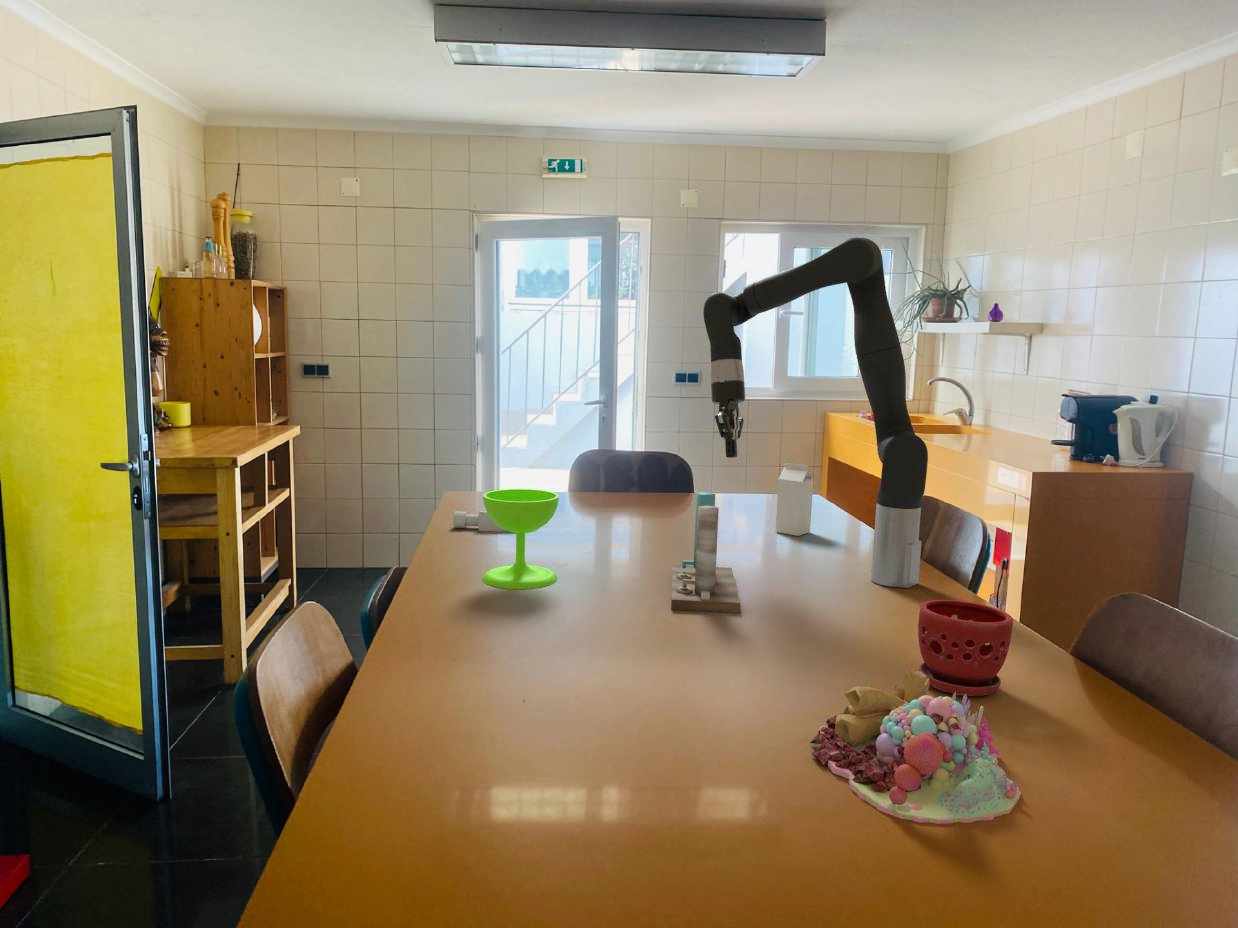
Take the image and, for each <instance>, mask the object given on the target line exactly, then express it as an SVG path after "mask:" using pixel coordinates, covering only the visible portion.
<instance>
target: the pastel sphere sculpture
mask: <svg viewBox="0 0 1238 928" xmlns="http://www.w3.org/2000/svg"><path fill="white" fill-rule="evenodd" d="M903 680H904V681H903V687H902V686H900V685H898V684H897V685H895V688H894V692H893V694H891V693H889V692H888V691H885V690H880V689H878V688H877V689H876V688H874V687H871V686H858V685H857V686H855V687H853V688H851V689H849V690H847V691H846V692H844V696H845V698H846V699H847V701H848V702H849V704H850V705H847V706H846V708H845V709H844V711H843V712H842V713H840V714H838V715H835V716H833V717H829V718H827V720H826V721H825V723H826V724H827V725H824V726H823V725H821V726H819V729H818V733H817V734H816V735H815V736H814V737H813V739H812V740H811V741H810V742H809V744H815V745H816V744H817V745H819V747H817V748H816V749H814V751H812V753H811V756H813V757H814V758H815V759H816V760H817V761H818V762H820V763H821V764H822V765H823V766H825V765H827V766H828V769H829V770H830V771H831V772H832V773H833V774H834V775H837V776H840V777H843V778H845V779H847V780H848V784H849V790H850V791H852V792H854V793H855V794H856V796H858V798H859V799H861V800H864V801H866V802H867V803H868V804H869V805H871V806H873V807H875V808H876V809H877V810H878V811H880V812H882V813H885V814H888V815H891V816H892V817H895V818H897V819H898V818H899V819H901V820H910V821H913V822H915V823H916V822H917V823H922V824H923V823H931V824H932V823H933V824H937V825H940V824H944V825H945V824H946V825H947V824H954V823H963V824H965V823H966V824H967V823H973V822H977V821H978V822H979V821H992V820H994V819H995V817H1001V816H1002V815H1008V814H1010V813H1011V812H1012V811H1013V809H1014V808H1015V806H1016V804H1017V803H1018V801H1019V799H1021V794H1022V793H1021V791H1020V790H1019V786H1018V780H1015V779H1014V780H1012V779H1010V778H1008V777H1007V774H1006V772H1005V770H1004V769H1003V768H1002V767H1000V766H999V765H998V763H999V760H998V757H999V754H1000V751H999V749H998V748H997V747H996V746H993V744H992V741H993V740H994V736H993V734H991V733H990V732H989V723H988V721H987V720H986V717H985V716H984V715H983V713H984V709H985V708H984V706H983V705H980V707H979V711H978V710H976V711H975V712H974V713H973V714H972V715H971V710H970V707H971V700H970V698H968V696H966V694H965V695H964V696H963V697H962V701H961V703H960V702H959V701H957V700H956V699H957V696H956V691H955V693H954V694H952V696H951V697H950V696H942V695H941V696H938V697H935V698H934V696H932V695H928V694H927V693H928V690H929V689H930V686H931V685H930V683H929V679H927V676H926V675H924V674H923V673H922V672H921V671H919V670H915V671H914V670H910V671H908V672H907V673H906V674H905V677H904V679H903ZM967 714H968V715H967ZM982 720H983V724H981V722H982Z"/></svg>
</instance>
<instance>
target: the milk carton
mask: <svg viewBox="0 0 1238 928" xmlns="http://www.w3.org/2000/svg"><path fill="white" fill-rule="evenodd" d="M809 469H810V466H809V465H807V464H806V465H804V464H796V463H788V462H785V463H784V467H783V469H782V471H781V473H780V474H779V476H778V479H777V480H778V481H777V494H776V495H777V497H776V498H777V499H776V515H775V533H777V534H778V533H779V534H785V535H789V536H797V537H800V536H803V535H805V534H808V533H811V525H812V524H811V523H812V521H811V519H812V509H813V508H812V507H813V493H814V490H813V489H814V488H813V487H814V478H813V476H812V474H811V471H810V470H809Z"/></svg>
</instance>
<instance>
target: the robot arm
mask: <svg viewBox="0 0 1238 928" xmlns="http://www.w3.org/2000/svg"><path fill="white" fill-rule="evenodd" d="M885 280H886V279H885V271H884V262H883V255H882V251H881V249H880V247H879V246H878V244H877V243H875V242H874V241H873V240H872V239H869V238H866V237H850V238H847V239H845V240H843V241H842V242H840V243H839V244H837V245H836V246H834V247H832V248H831V249H829V250H828V251H826V252H823V253H822V254H820V255H819V256H817V257H814V258H813V259H810V260H809V261H807V262H804V263H802V264H800V265H797V266H794V267H792V268H788V269H786V270H783V271H780V272H777V273H774V274H772V275H769V276H766V277H764V278H761V279H759V280H756V281H754V282H750V283H749V284H747V285H746V286H745V287H744V288H743V291H742V292H740V293H739V294H736V295H733V296H731V295H729V294H726V293H724V292H719V291H717V292H713V293H711V294H710V295H709V296H708V297H707V298H706V299H705V302H704V304H703V313H702V314H703V321H704V326H705V330H706V334H707V338H708V341H709V344H710V347H709V348H710V349H709V351H710V389H711V390H710V391H711V402H712V403H713V404H715V405H719V406H718V410H717V411H718V413H717V414H715V415H714V419H715V422H716V426H717V429H718V432H719V436H720V438H722V439H723V441H724V443H725V445H724V446H725V457H726V458H727V459H728V458H729V459H733V458H737V457H738V445H737V442H738V440H739V439H741V436H742V430H743V425H744V417H741V410H740V409H739V403H743V402H744V401H745V400H746V389H745V388H746V387H745V374H744V373H745V372H744V365H743V357H742V356H743V354H742V343H741V339H740V337H739V336H738V335H737V333H736V332H735V328H734V327H737V326H740V325H742V324H744V323H746V322H747V321H750V320H751V319H753V318H754V317H756V316H757V315H760V314H763V313H765V312H768V311H771V310H773V309H776V308H778V307H781V306H784V305H786V304H788V303H790V302H793V301H795V300H797V299H799V298H801V297H803V296H806V295H808V294H810V293H811V292H815V291H816V290H817V291H818V290H821V289H823V288H827V287H830V286H831V287H832V286H836V285H842V284H846V285H847V288H848V291H849V294H850V297H851V301H852V306H853V316H854V317H853V320H854V321H853V325H854V326H853V327H854V328H853V340H854V342H853V343H854V348H855V350H854V351H855V355H856V359H857V364H858V368H859V371H860V376H861V379H862V383H863V387H864V389H865V393H866V394H865V395H866V398H867V400H868V402H869V405H870V409H871V411H872V416H873V417H872V418H873V422H874V428H875V437H876V438H875V439H876V448H877V455H878V459H879V461H880V462H881V464H882V466H881V477H880V484H879V488H878V491H877V493H876V506H875V519H874V521H875V522H874V532H873V547H872V560H871V562H872V563H871V576H870V577H871V578H870V580H871V581H872V582H873V583H876V584H877V585H881V586H886V587H891V588H904V589H910V588H912V587H913V586H916V585H918V584H919V580H920V579H919V577H920V568H921V567H920V566H921V565H920V564H921V556H922V555H921V553H922V550H921V549H922V541H921V540H920V539H919V537H920V525H921V523H920V522H921V511H922V501H923V497H924V494H925V492H926V491H925V490H926V482H927V475H928V473H927V472H928V462H929V452H928V448H927V447H928V446H927V445H926V443H925V441H924V440H923V439H922V438H921V437H920V436H919V435H917V434H916V433H915V432H916V431H915V430H914V427H913V425H912V421H911V418H910V415H909V410H908V407H907V398H906V397H907V392H906V391H907V382H906V381H907V377H906V375H907V374H906V366H905V365H906V364H905V359H904V355H903V350H902V346H901V342H900V337H899V334H898V331H897V330H898V329H897V327H896V323H895V320H894V317H893V314H892V309H891V307H890V304H889V300H888V295H887V287H886V281H885Z"/></svg>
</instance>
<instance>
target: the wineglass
mask: <svg viewBox="0 0 1238 928" xmlns="http://www.w3.org/2000/svg"><path fill="white" fill-rule="evenodd" d="M559 499H560V494H558V493H556V492H553V491H550V490H549V491H548V490H545V489H544V490H543V489H532V488H506V489H498V490H497V489H495V490H489V491H487V492H485V493H483V494H482V500H483V505H484V509H485V511H487V513H488V515H489V517H490V518H491V519H492V520H493V522H494V523H495V524H497V525H498V526H499V527H501V528H502V529H504V530H507V531H506V532H510V533H514V534H515V562H514V564H510V565H502V566H496V567H494V568H491V569H489V570H487V571H486V572H484V574H483V576H482V578H481V580H482V582H483V583H485V584H487V585H489V586H491V587H496V588H501V589H510V590H529V589H531V590H532V589H539V588H543V587H549V586H551V585H553V584H555V583H556V582H557V581H558V576H557V574H556V573H555V572H554V571H553V570H551V569H550V568H547V567H544V566H539V565H534V564H533V565H532V564H527V563H526V534H528V533H531V532H535V531H537V530H539V529H541V528H542V527H543V526H545V525H547V524H548V523H549V521H550V520H551V519H552V518H553V517H554V515H555V512H556V510H557V508H558V505H559Z"/></svg>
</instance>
